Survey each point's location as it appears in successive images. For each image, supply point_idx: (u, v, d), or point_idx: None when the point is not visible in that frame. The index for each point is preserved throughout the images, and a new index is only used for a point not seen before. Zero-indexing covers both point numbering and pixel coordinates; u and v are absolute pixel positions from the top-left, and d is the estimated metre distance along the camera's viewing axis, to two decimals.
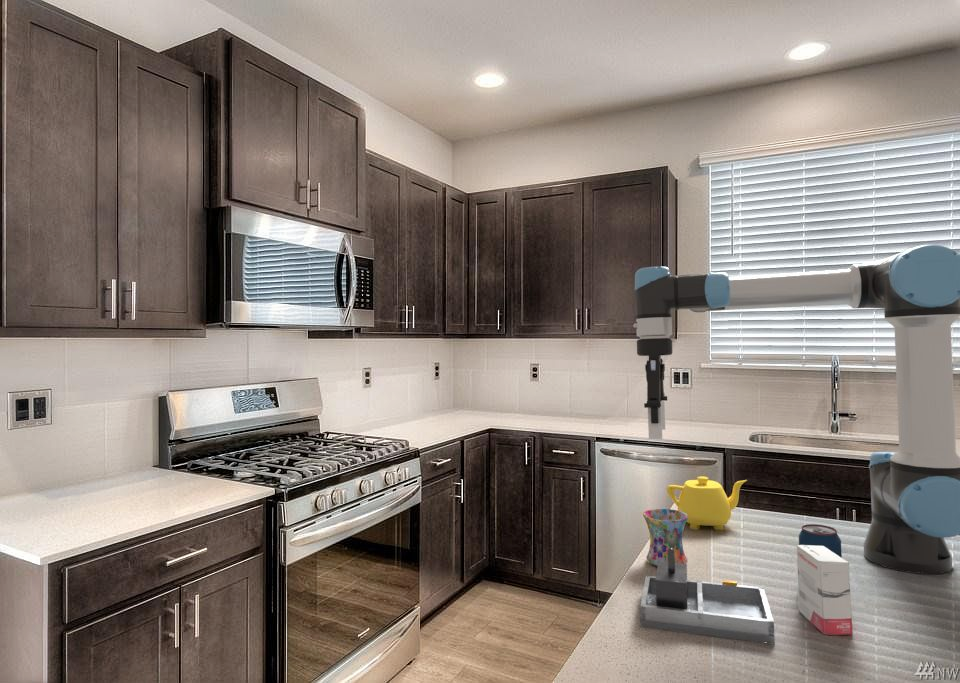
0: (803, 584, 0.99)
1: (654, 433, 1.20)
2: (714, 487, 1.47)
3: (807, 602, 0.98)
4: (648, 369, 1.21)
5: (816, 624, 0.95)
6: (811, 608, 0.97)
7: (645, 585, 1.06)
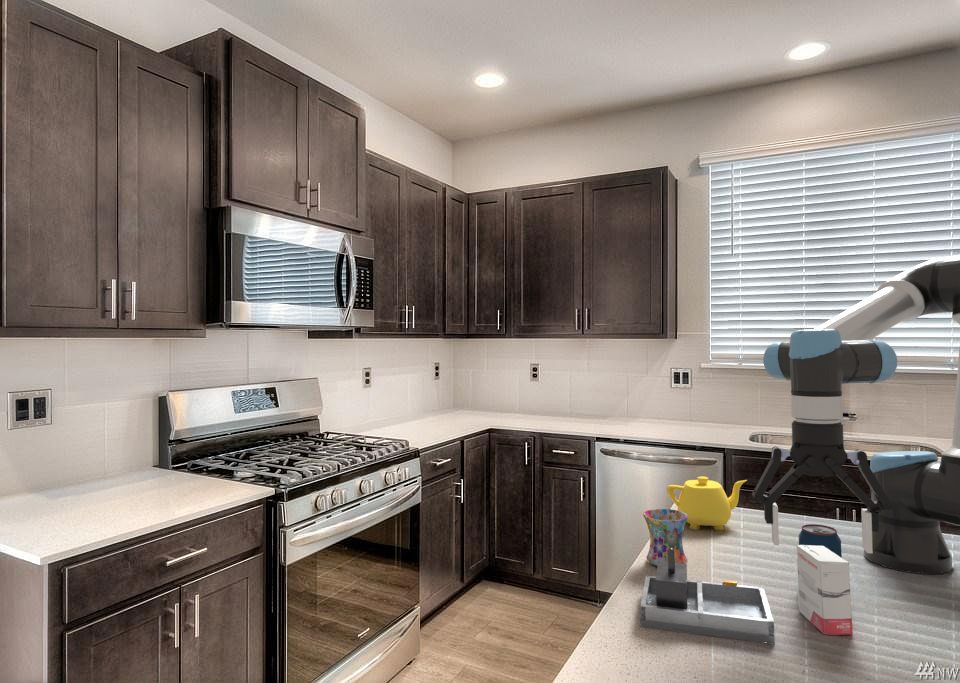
0: (803, 584, 0.99)
1: (772, 535, 1.00)
2: (714, 487, 1.47)
3: (807, 602, 0.98)
4: (771, 457, 1.00)
5: (816, 624, 0.95)
6: (811, 608, 0.97)
7: (645, 585, 1.06)
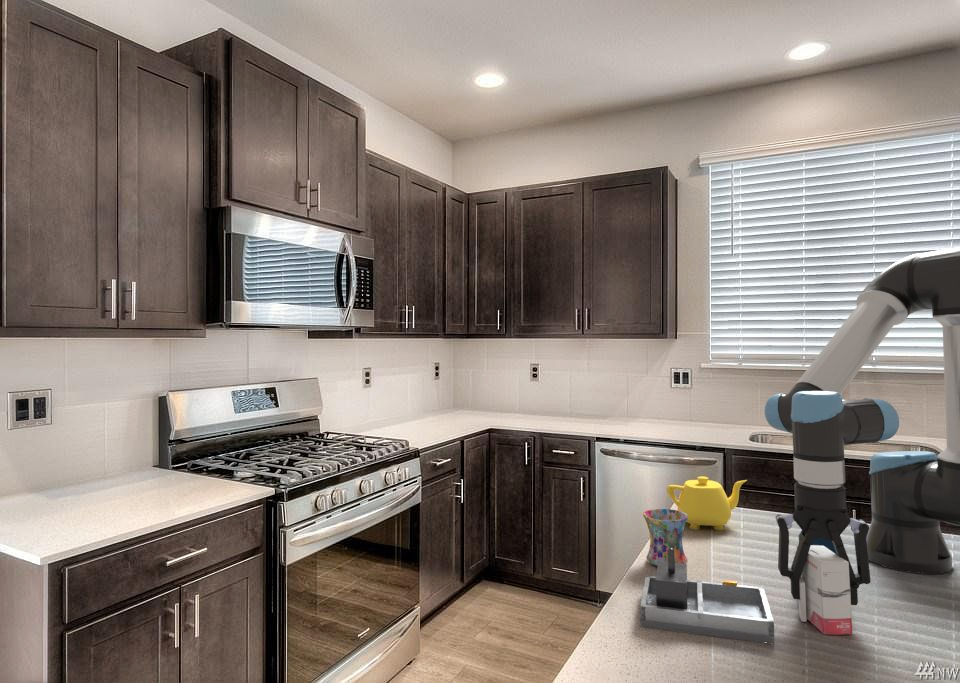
0: None
1: (799, 610, 0.98)
2: (714, 487, 1.47)
3: (807, 602, 0.98)
4: None
5: (816, 624, 0.95)
6: (811, 608, 0.97)
7: (645, 585, 1.06)
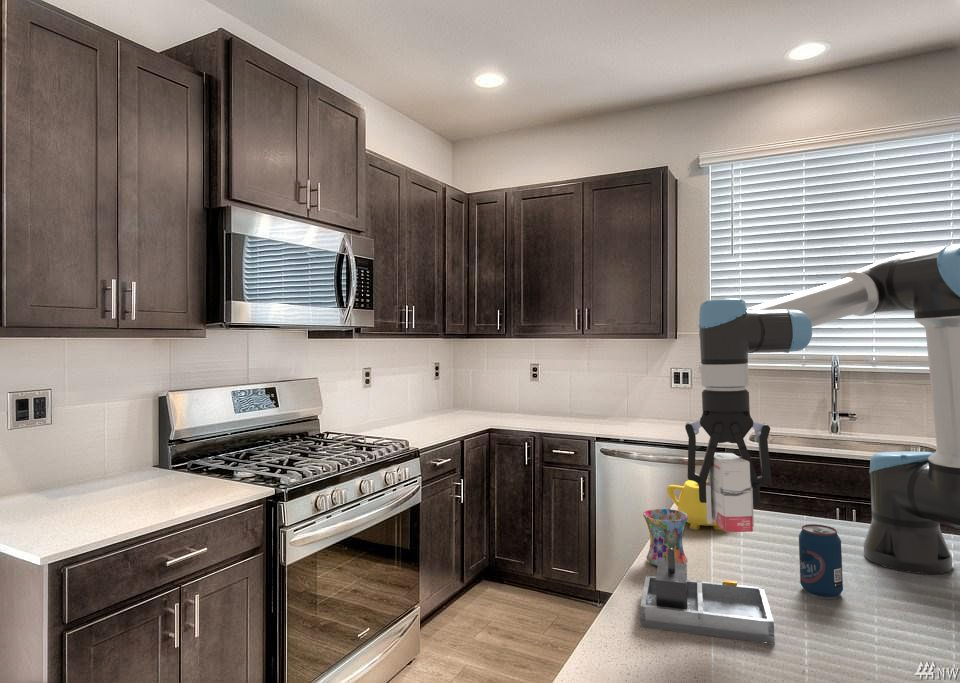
0: (711, 488, 1.01)
1: None
2: None
3: (713, 505, 1.00)
4: None
5: (719, 524, 0.97)
6: (716, 510, 0.99)
7: (645, 585, 1.06)
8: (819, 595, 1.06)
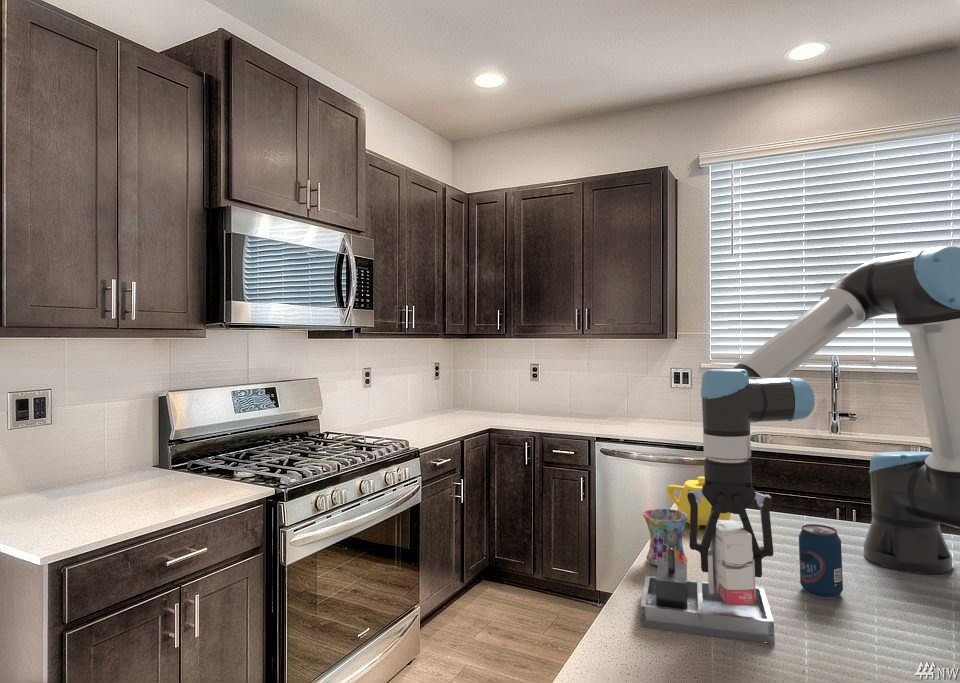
0: (713, 557, 1.01)
1: (708, 583, 1.01)
2: None
3: (715, 575, 1.00)
4: None
5: (721, 595, 0.97)
6: (718, 580, 0.99)
7: (645, 585, 1.06)
8: (819, 595, 1.06)
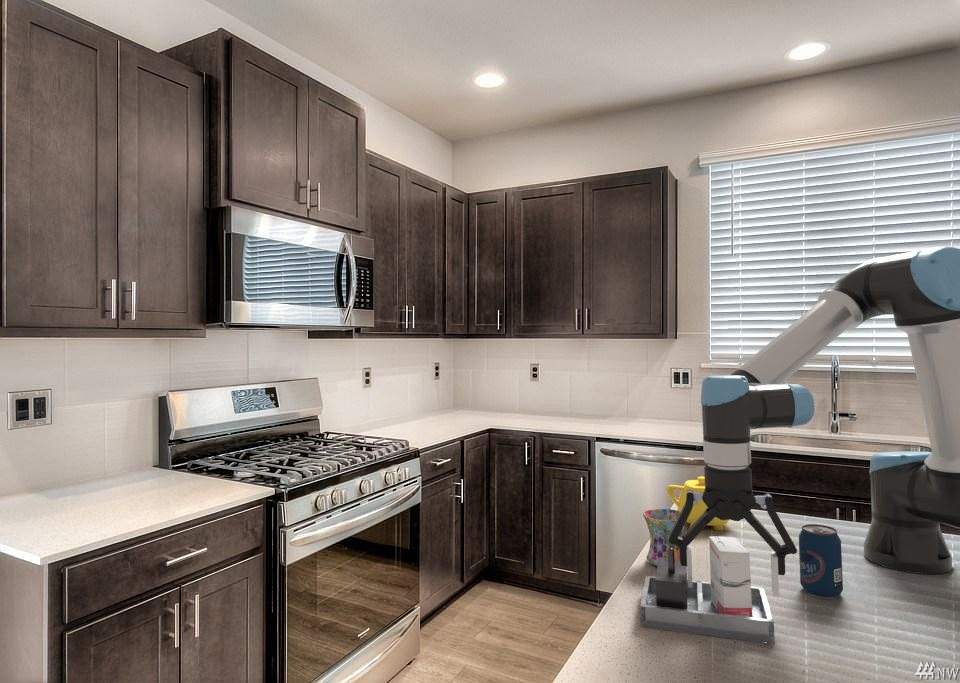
0: (712, 574, 1.01)
1: None
2: None
3: (715, 592, 1.00)
4: None
5: (719, 613, 0.97)
6: (716, 597, 0.99)
7: (645, 585, 1.06)
8: (819, 595, 1.06)
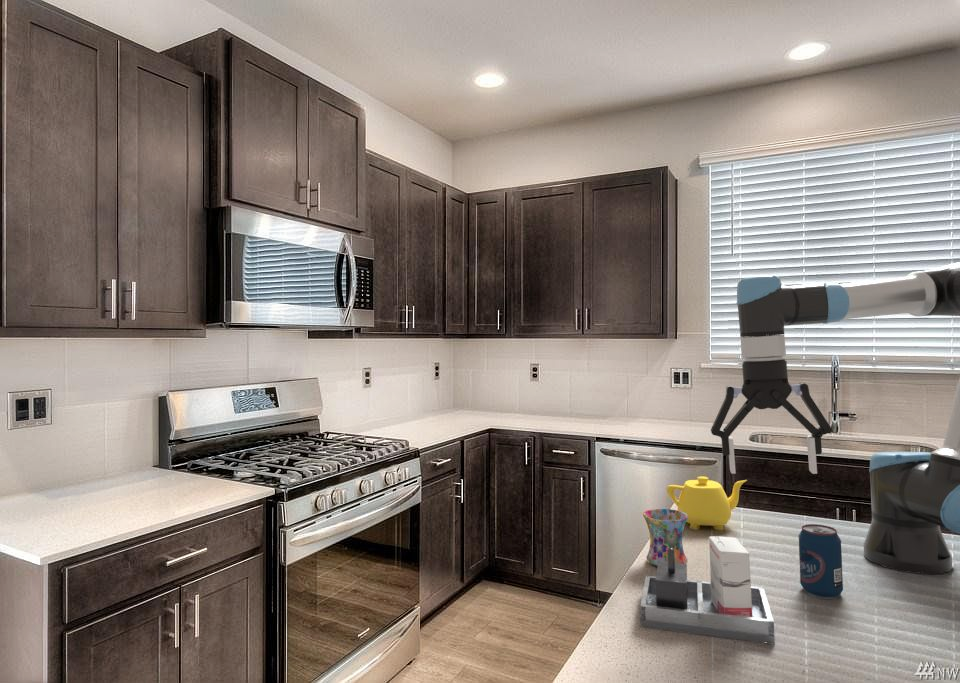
0: (712, 574, 1.01)
1: (730, 465, 1.10)
2: (714, 487, 1.47)
3: (714, 592, 1.00)
4: None
5: (719, 613, 0.97)
6: (716, 597, 0.99)
7: (645, 585, 1.06)
8: (819, 595, 1.06)
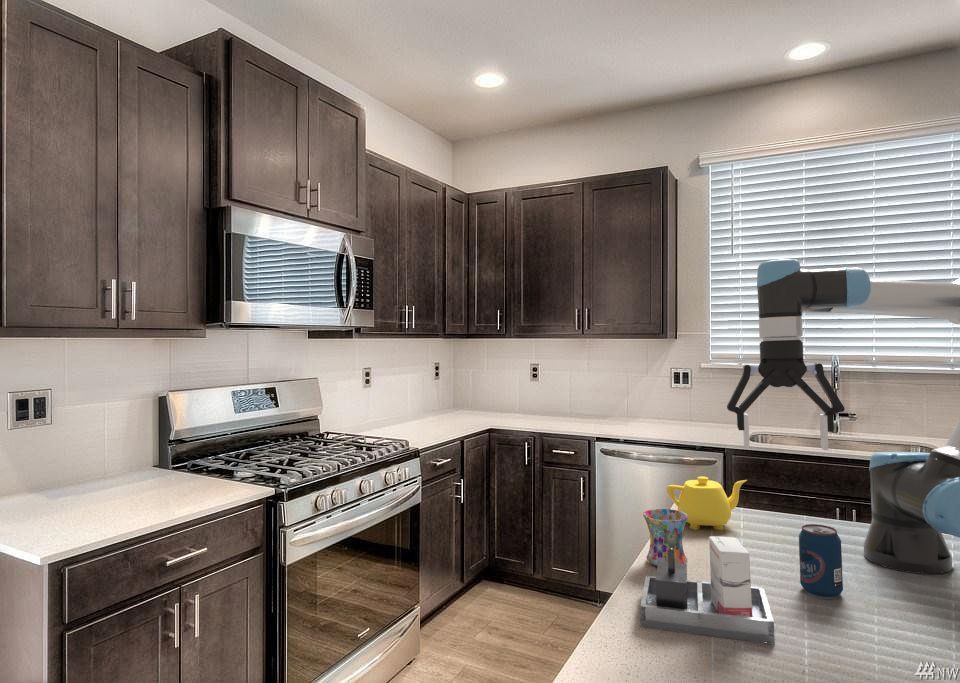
0: (712, 574, 1.01)
1: (744, 440, 1.15)
2: (714, 487, 1.47)
3: (714, 592, 1.00)
4: None
5: (719, 613, 0.97)
6: (716, 597, 0.99)
7: (645, 585, 1.06)
8: (819, 595, 1.06)
